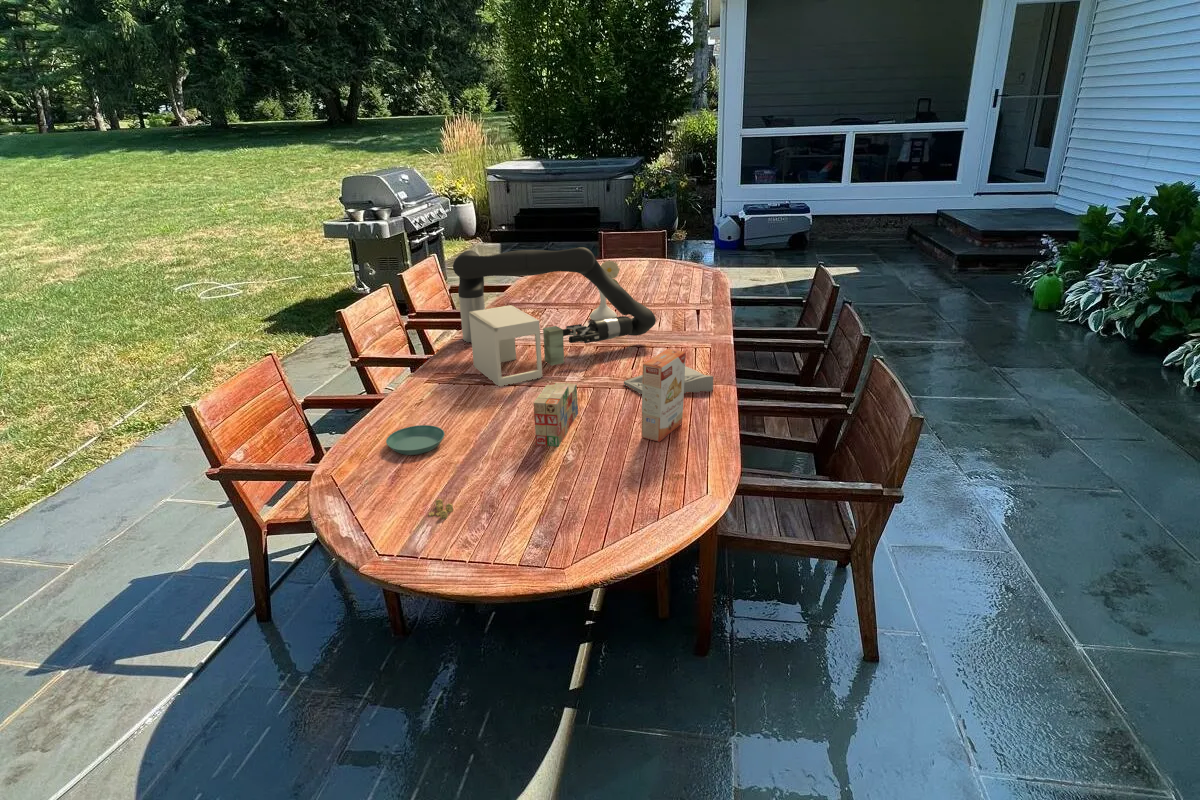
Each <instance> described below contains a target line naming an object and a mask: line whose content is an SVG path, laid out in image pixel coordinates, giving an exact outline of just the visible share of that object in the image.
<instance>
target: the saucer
mask: <svg viewBox="0 0 1200 800" xmlns="http://www.w3.org/2000/svg"><path fill="white" fill-rule="evenodd" d="M445 435H446V434H445V431H444V430H443V428H441V427H438V426H435V425H428V424H427V425H426V424H422V425H413V426H408V427H404V428H401V429H398V430H396V431H394V432H392V433H391V434H389V435H388V436H387V438H386V439H385V443H386V445H387V446H388V447H389V448H390V449H391V450H393V451H394V452H396V453H398V454H401V455H405V456H414V455H421V454H426V453H429V452H430V451H433V450H434V449H436V448H437V447H438V446H439V445H440V444H441V442H442V441H443V440H444V438H445Z"/></svg>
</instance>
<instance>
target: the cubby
mask: <svg viewBox="0 0 1200 800" xmlns="http://www.w3.org/2000/svg"><path fill="white" fill-rule="evenodd" d="M469 321H470V331H471V341H472V343H471V348H472V349H471V350H472V361H473V368H475V369H477V370H478V371H479V372H480V373H481V374H483V375H484V376H485V377H486V378H487V377H488V378H487V379H488V380H490V381H491V380H492V381H493V382H492V381H491V382H492V383H494V384H495V386H497V385H498V386H500V387H504V385H505V386H509V385H508V384H510V385H514V384H518V382H519V383H522V382H521V381H524V382H527V381H526V380H528V381H533V380H537V378H538V379H542V378H543V366H542V365H543V364H542V361H543V360H542V347H541V345H542V344H541V330H540V329H541V327H540V320H539V319H537V318H536V317H534V316H532V315H530V314H528V313H526V312H525V311H523V310H520V309H519V308H518V307H515V306H514V305H511V304H510V305H504V306H498V307H492V308H485V309H484V310H477V311H471V312H469ZM527 336H534V340H535V341H534V342H535V355H536V356H535V357H536V358H535V359H536V369H535V370H529V371H526V372H525V371H524V372H521V373H516V374H510V375H506V376H502V375H503V374H502V366H501V365H502V364H501V363H504V362H505V363H506V362H510V361H514V360H517V351H516V350H517V349H516V338H522V337H527ZM541 377H542V378H541ZM532 379H533V380H532ZM513 383H514V384H513Z"/></svg>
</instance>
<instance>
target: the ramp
mask: <svg viewBox="0 0 1200 800" xmlns="http://www.w3.org/2000/svg"><path fill="white" fill-rule="evenodd" d="M642 381H643V374H640V375H638V376H634V377H632V378H629V379H626V380H624V381H623V385H624V384H625V385H627V386H629V387H630V388H632V389H634V390H635V391H637V392H638V393H640V394H642ZM625 385H624V386H625ZM630 388H629V389H630ZM632 389H631V390H632ZM712 390H713V391H714V376H713V375H708V374H703V373H701V372H699V371H697V370H695V369H694V368H691V367H690V366H687V365H685V379H684V394H687V393H686V392H693V393H701V392H700V391H706V392H713V391H712ZM635 391H634V392H635ZM637 392H636V393H637ZM638 393H637V394H638ZM640 394H639V395H640Z"/></svg>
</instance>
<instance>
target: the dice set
mask: <svg viewBox="0 0 1200 800" xmlns="http://www.w3.org/2000/svg"><path fill="white" fill-rule="evenodd" d="M435 507H436V511H437V512H433V511H431V512H428V515H429V517H434V516H436V517H437V518H438V517H440V519H441V520H445V519H448V517H449V515H448V513H452V512H453V511H454V506H453V504H452V503H447V504H445V510H444V502H443V499H441V498H438V499H436V500H435Z"/></svg>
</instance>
